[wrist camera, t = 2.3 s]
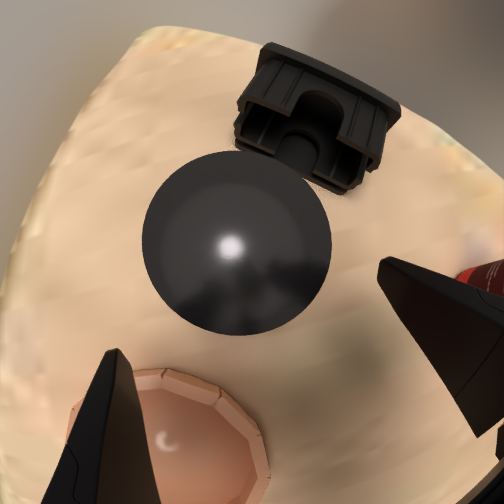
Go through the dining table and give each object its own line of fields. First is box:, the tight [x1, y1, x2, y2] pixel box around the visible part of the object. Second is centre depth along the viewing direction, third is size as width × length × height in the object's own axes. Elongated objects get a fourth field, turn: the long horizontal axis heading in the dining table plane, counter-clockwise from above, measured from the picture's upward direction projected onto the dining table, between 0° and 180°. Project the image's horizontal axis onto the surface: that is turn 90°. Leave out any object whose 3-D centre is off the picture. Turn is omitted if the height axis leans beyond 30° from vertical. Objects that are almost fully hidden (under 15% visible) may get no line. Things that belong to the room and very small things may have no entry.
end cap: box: [233, 42, 401, 195], centre depth 18 cm, size 10×7×7 cm
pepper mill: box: [142, 151, 332, 336], centre depth 13 cm, size 5×5×11 cm
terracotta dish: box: [65, 368, 271, 504], centre depth 14 cm, size 13×13×2 cm
